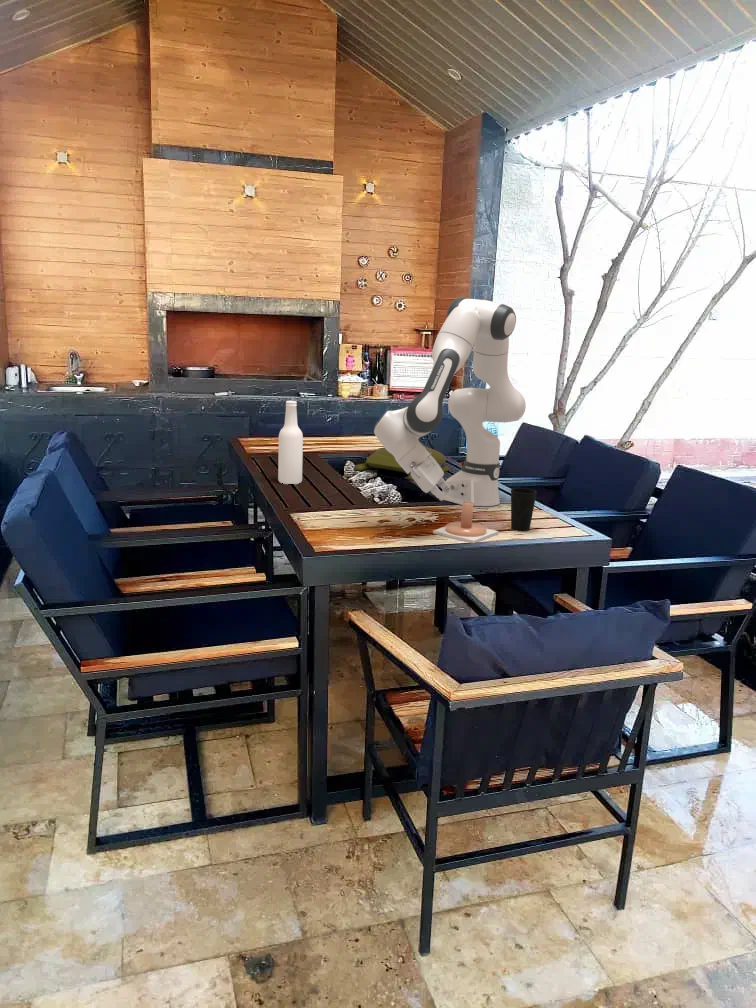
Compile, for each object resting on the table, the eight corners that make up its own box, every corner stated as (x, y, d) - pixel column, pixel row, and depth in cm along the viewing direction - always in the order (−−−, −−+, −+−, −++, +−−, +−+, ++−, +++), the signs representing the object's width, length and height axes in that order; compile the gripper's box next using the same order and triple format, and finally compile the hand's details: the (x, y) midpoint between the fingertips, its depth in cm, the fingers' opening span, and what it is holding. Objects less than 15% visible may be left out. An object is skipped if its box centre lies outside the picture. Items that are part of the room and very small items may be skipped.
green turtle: (416, 482, 293) (417, 457, 291) (350, 471, 309) (351, 447, 307) (458, 469, 322) (459, 446, 320) (396, 459, 338) (397, 437, 336)
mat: (432, 533, 223) (432, 530, 223) (458, 524, 234) (458, 522, 234) (473, 543, 215) (473, 540, 215) (498, 533, 226) (498, 531, 226)
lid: (437, 530, 223) (439, 502, 221) (459, 523, 232) (461, 496, 230) (472, 539, 216) (474, 510, 214) (493, 531, 225) (496, 503, 223)
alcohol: (299, 479, 287) (300, 399, 280) (304, 484, 279) (305, 402, 272) (276, 480, 285) (277, 399, 278) (280, 485, 277) (281, 402, 270)
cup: (537, 531, 230) (541, 493, 227) (514, 532, 228) (518, 493, 225) (525, 524, 237) (529, 487, 234) (503, 525, 235) (506, 487, 232)
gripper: (416, 458, 212) (449, 496, 212) (428, 447, 231) (458, 482, 232) (400, 473, 214) (432, 510, 214) (413, 460, 234) (443, 494, 234)
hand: (446, 495), depth 223 cm, fingers open, 8 cm apart
